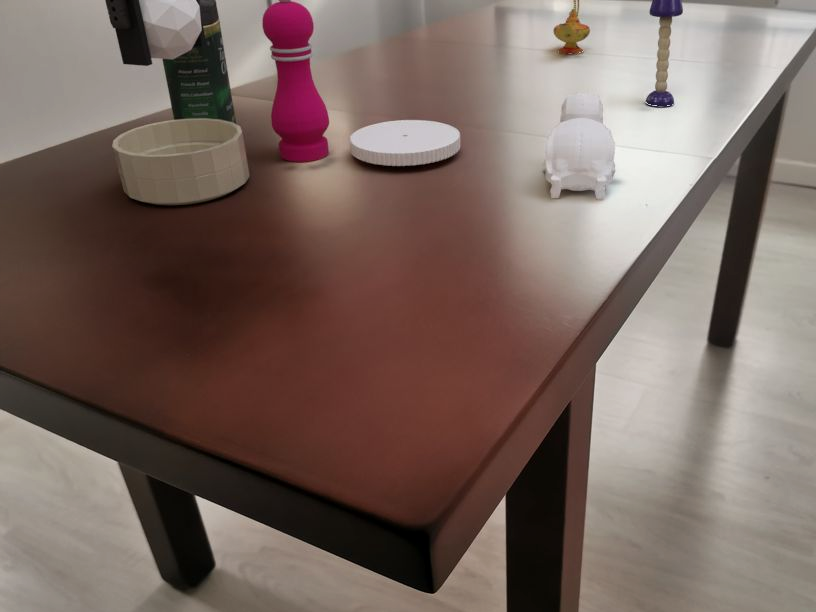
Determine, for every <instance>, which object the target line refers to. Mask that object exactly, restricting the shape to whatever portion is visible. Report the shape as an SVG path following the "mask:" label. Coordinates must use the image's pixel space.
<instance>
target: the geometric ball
mask: <svg viewBox="0 0 816 612" xmlns="http://www.w3.org/2000/svg"><path fill="white" fill-rule="evenodd" d="M139 3H140V8H141V12H142V17H143V22H144V26H145V31H146V36H147V41H148V45H149V50H150V55H151V59H160V60H162V59H175V58H177V57H178V56H180V55H182V54H184V53H186V52H188V51H190V50H191V49H192V47H193V45H194V43H195V42H196V40H197V38H198V36H199V34H200V32H201V30H202V29H201V18H200V6H199V4H198V3H197V1H196V0H139Z"/></svg>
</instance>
